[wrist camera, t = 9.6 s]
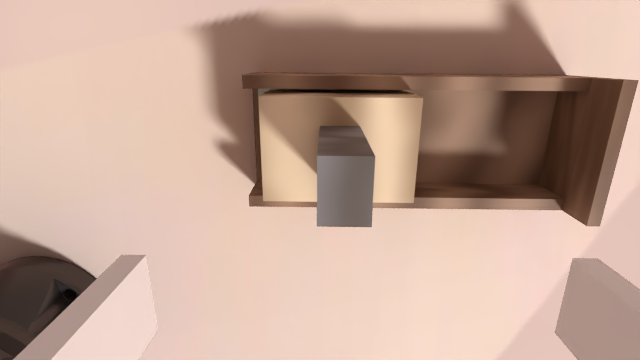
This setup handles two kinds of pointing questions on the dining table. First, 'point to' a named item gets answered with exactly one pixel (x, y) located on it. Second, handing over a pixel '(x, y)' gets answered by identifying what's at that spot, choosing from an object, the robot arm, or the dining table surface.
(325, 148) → the block with handle
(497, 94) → the bay
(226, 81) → the dining table surface
